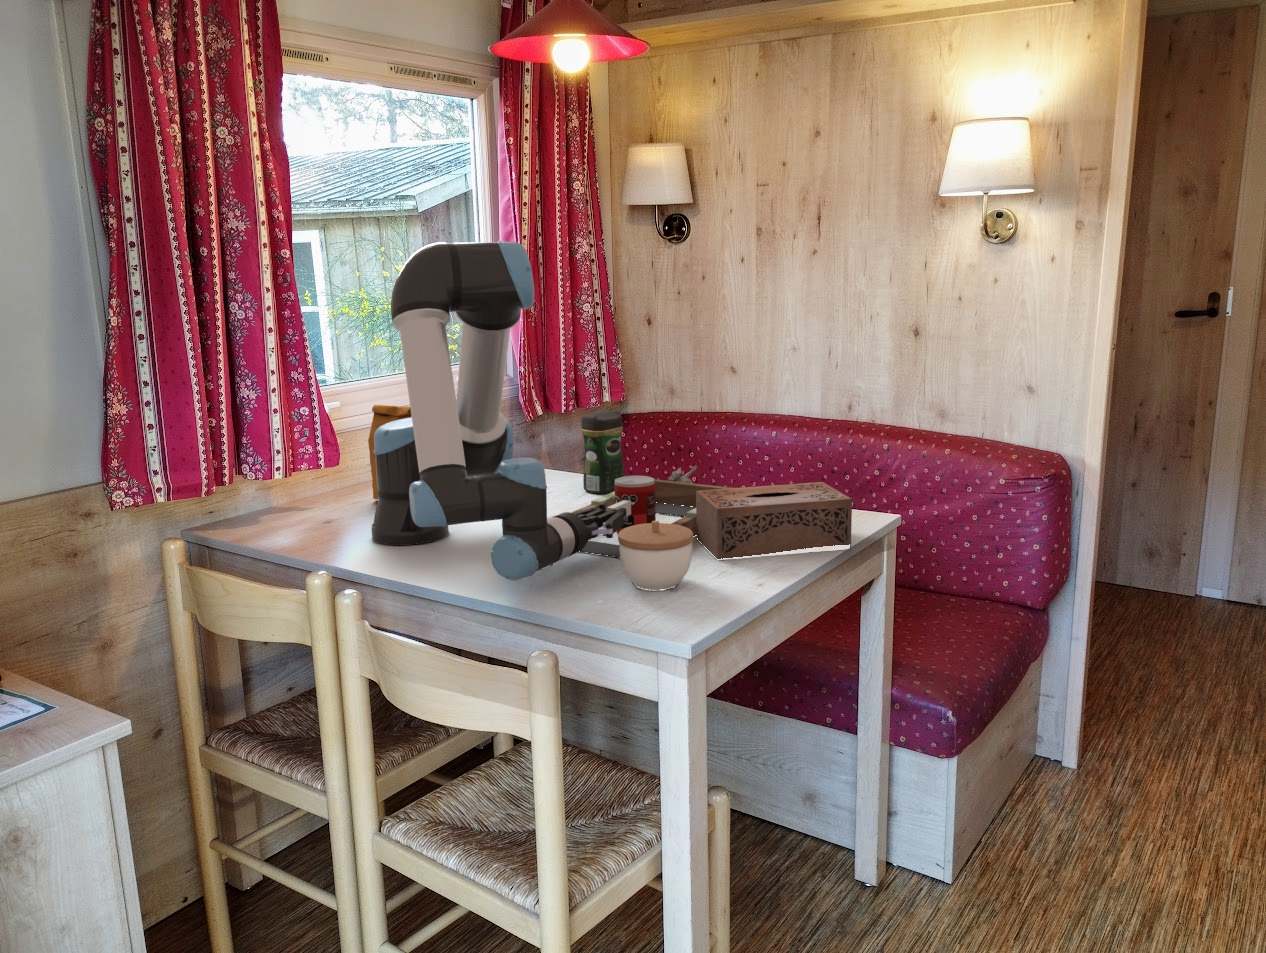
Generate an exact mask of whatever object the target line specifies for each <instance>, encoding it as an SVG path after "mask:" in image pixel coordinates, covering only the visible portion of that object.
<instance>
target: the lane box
mask: <svg viewBox="0 0 1266 953" xmlns="http://www.w3.org/2000/svg"><path fill="white" fill-rule="evenodd" d="M729 488H732V487H730V486H729V487H728V486H720V485H711V484H701V483H693V482H692V483H684V482H676V481H675V480H674V481H671V480H664V479H663V480H662V479H655V502H657V503H666V504H674V505H684V506H693V507H696V491H700V490H714V489H729ZM600 504H605V509H606V508H607V507H609V506H611V505H614V504H615V491H613V492H610V493H606V494H605V495H603V496H600V497H598V498H596V499H595V498H594V499H593V500H591V502H590V504H588V505H586V506H583V507H581V508H579V509H576V510H574V511H571V512H570V513H574V512H578V511H581V510H585V509H589V508H596V510H597V509H599V508H600V507H599V505H600ZM670 524H676V525H681V526H684V527H687V528H689V529H690V530H691V531H692V532H693V536H695V535H696V508H694V509H692V510H691V511H689V512H687V513H686V516H685V517H680V518H679V519H677V520H676V521H675V520H674V521H673V522H671V523H670Z"/></svg>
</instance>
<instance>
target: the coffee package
mask: <svg viewBox="0 0 1266 953" xmlns="http://www.w3.org/2000/svg"><path fill="white" fill-rule="evenodd" d="M371 411H372V412H373V417H372V422H371V425H370V430H369V431H370V432H369V436H368V440H367V441H368V442H367V443H368V450H369V465H370V473H371V478H372V481H371V482H372V485H371V486H372V499H374V500H378V489H377V475H376V461H375V454H374V452H373V450H374V434H375V431H376V430H377V429H378V428H379V427H380V426H382V425H384V424H386V423H389V422H392V421H396V420H400V419H405V418H411V417H412V416H411V409H410V406H405V405H404V406H398V405H396V406H395V405H382V404H374V405H373V406H372V408H371Z"/></svg>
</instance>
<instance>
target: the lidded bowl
mask: <svg viewBox="0 0 1266 953" xmlns="http://www.w3.org/2000/svg"><path fill="white" fill-rule="evenodd" d="M617 540H618V541H617V542H618V545H619V552H620V558H619V559H620V563H621V567H622V569H623V571H624V573H625V575H626V577H628V579H629V580H630V581H631V582H632V583H634V585H635V584H636V586H638V587H640V588H643V589H648V590H649V589H650V590H660V589H668V588H671V587H674V586H676V585H677V583H678V584H679V583H680V582H681V581H682V580H683V579H684V577H685V576H686V575H687V573H688V572H689V569H690V567H691V564H692V559H693V558H692V557H693V541H694V538H693V532H692V531H691V530H690V529H689V528H687V527H684V526H681V525H676V524H671V523H666V522H665V523H664V522H660V521H659V520H656V521H652V523H647V524H639V525H633V526H630V527H627V528H624V529H622V530H621V531H620V532H619V533H618V534H617ZM636 586H635V587H636ZM677 586H678V585H677ZM677 586H676V587H677Z"/></svg>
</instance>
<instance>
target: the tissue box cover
mask: <svg viewBox="0 0 1266 953" xmlns="http://www.w3.org/2000/svg"><path fill="white" fill-rule="evenodd" d="M852 511H853V499H852V498H851V497H850V496H848V495H846V494H844V493H842V492H841V491H839V490H837V489H836V488H834V487H833V486H830V485H829V484H827V483H825V482H824V481H818V482H817V481H816V482H804V483H788V484H773V485H761V486H760V485H757V486H747V487H746V486H744V487H731V488H729V489H714V490H700V491H696V535H697V536H696V539H697V538H698V540H699V541H700V542H701V543H702V544H703V545H704V546H705V547H706V548H707V549H708V550H709V551H710V552H711V553H712V554H713V555H714V556H715V557H716V558H717V559H721V558H722V559H723V558H733V557H743V556H752V555H761V554H769V553H776V552H783V551H791V550H797V549H804V548H805V549H806V548H813V547H823V546H833V545H834V546H835V545H849V544H851V545H852V525H853V524H852V522H853V519H852V516H853V515H852V514H853V512H852ZM698 540H697V541H698ZM699 541H698V542H699ZM700 542H699V543H700Z"/></svg>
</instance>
